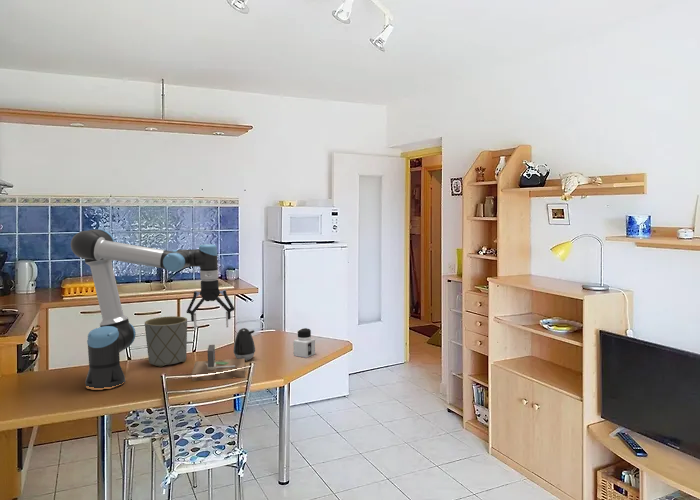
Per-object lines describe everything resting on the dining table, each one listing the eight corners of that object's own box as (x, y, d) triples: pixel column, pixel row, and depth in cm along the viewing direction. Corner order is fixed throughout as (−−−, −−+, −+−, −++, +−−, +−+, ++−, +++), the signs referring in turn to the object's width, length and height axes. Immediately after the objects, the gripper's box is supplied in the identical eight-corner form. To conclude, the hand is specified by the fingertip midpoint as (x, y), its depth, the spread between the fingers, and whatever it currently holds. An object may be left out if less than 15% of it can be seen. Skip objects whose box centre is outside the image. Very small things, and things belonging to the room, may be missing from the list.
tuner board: (191, 380, 226) (191, 373, 226) (195, 368, 244) (195, 361, 244) (244, 377, 231) (244, 369, 230) (244, 364, 248) (244, 358, 248)
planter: (155, 370, 241) (153, 327, 239) (140, 361, 255) (138, 320, 253) (195, 362, 253) (194, 320, 251) (178, 353, 268) (177, 314, 266)
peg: (206, 373, 227) (205, 351, 226) (208, 365, 237) (207, 345, 236) (235, 371, 230) (234, 349, 229) (235, 364, 239) (234, 343, 238)
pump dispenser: (251, 362, 251) (250, 331, 250) (230, 361, 253) (229, 330, 252) (258, 356, 261) (258, 326, 260) (238, 355, 263) (238, 325, 262)
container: (315, 354, 264) (315, 328, 263) (306, 358, 258) (305, 331, 257) (303, 351, 269) (302, 326, 267) (293, 355, 262) (292, 329, 261)
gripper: (178, 282, 226) (180, 331, 228) (238, 279, 231) (240, 327, 233) (180, 279, 234) (182, 327, 236) (238, 277, 238) (240, 324, 240)
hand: (211, 327), depth 234 cm, fingers open, 13 cm apart
